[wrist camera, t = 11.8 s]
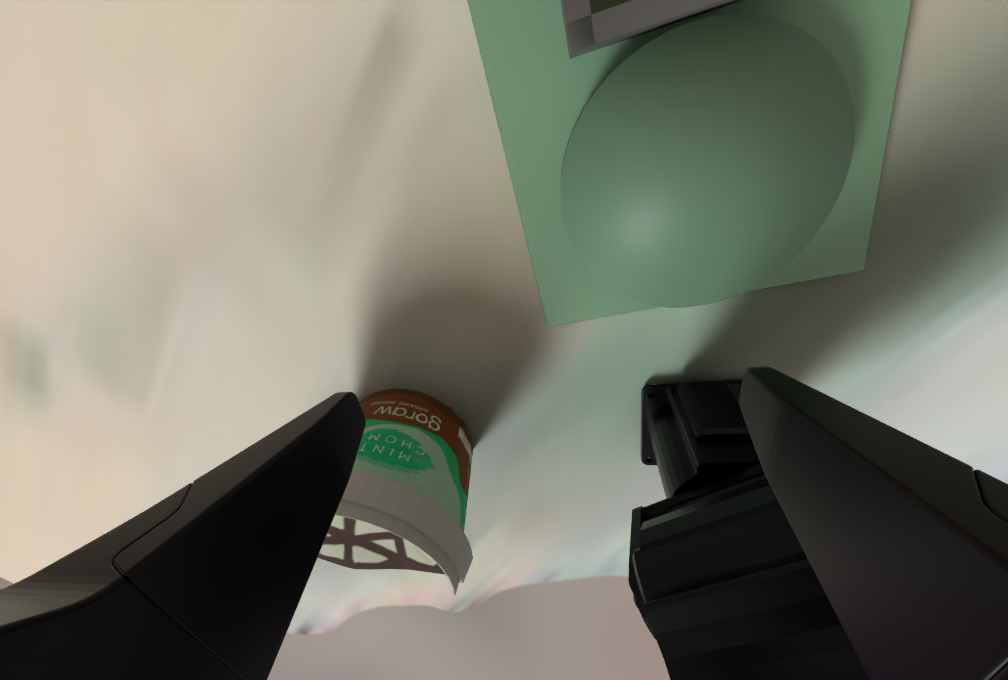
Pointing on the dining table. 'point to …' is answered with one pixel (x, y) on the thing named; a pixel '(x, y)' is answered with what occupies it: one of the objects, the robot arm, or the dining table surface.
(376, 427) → the food container
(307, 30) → the dining table surface
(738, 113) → the green domed base plate
